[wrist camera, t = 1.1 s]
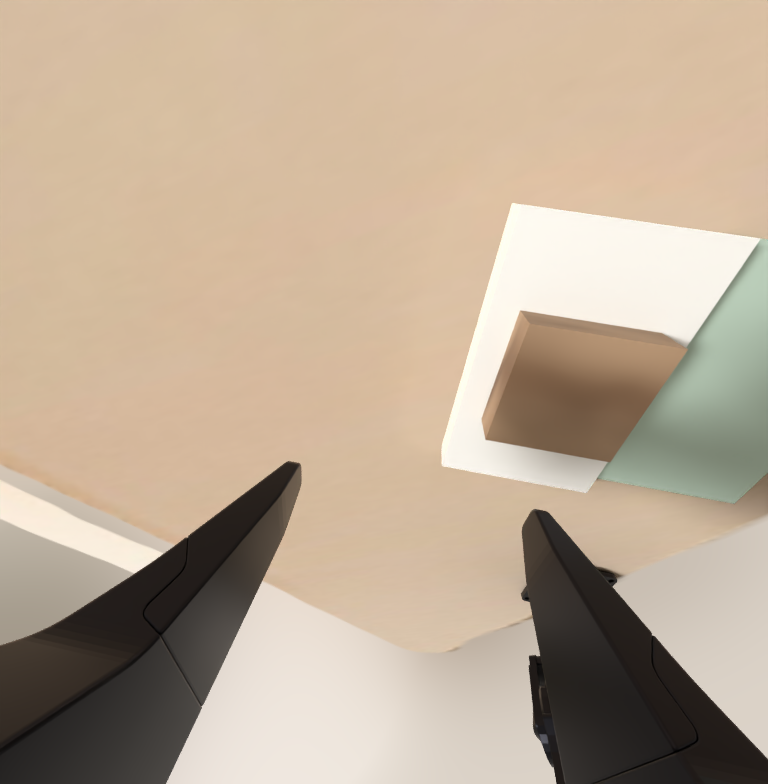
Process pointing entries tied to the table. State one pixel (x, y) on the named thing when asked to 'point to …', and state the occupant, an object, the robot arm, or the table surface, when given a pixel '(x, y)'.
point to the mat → (710, 403)
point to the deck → (582, 312)
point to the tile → (576, 384)
